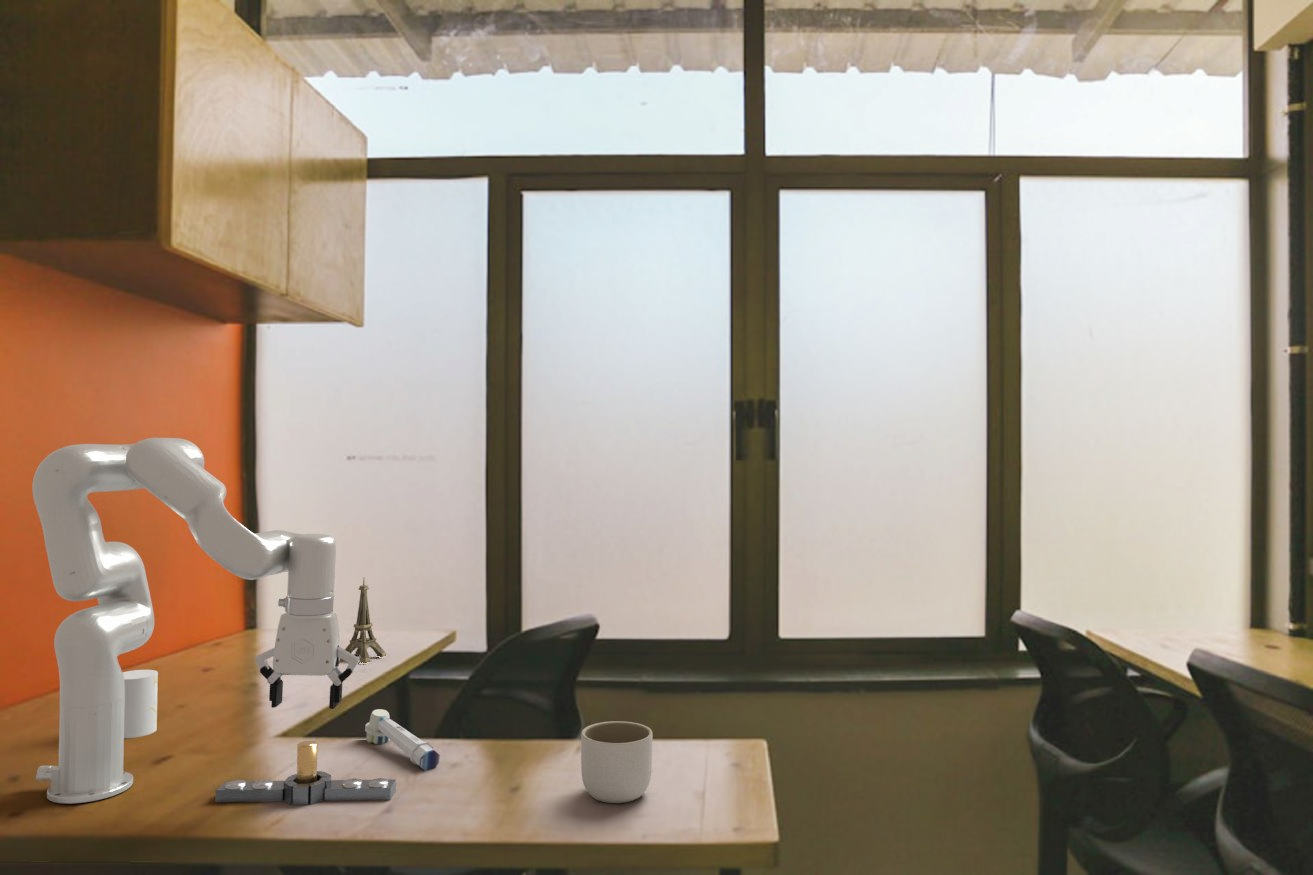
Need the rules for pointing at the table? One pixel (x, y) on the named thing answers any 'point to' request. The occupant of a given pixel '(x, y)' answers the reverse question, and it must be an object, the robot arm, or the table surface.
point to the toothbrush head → (400, 739)
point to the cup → (140, 702)
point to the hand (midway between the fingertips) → (305, 705)
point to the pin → (307, 762)
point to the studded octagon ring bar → (306, 790)
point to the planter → (616, 760)
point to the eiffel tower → (363, 631)
